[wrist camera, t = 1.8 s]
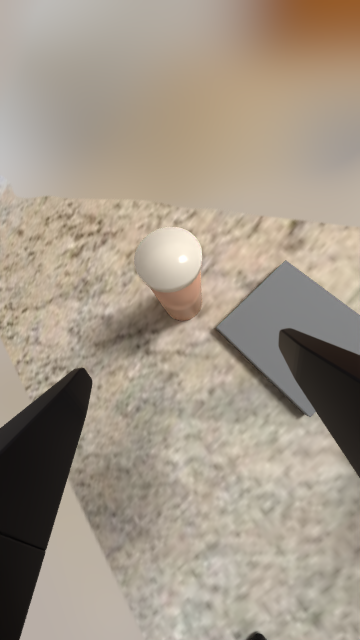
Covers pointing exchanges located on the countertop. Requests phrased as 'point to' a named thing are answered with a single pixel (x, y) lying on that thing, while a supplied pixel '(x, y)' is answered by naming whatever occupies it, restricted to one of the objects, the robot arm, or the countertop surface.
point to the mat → (288, 325)
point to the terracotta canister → (172, 270)
